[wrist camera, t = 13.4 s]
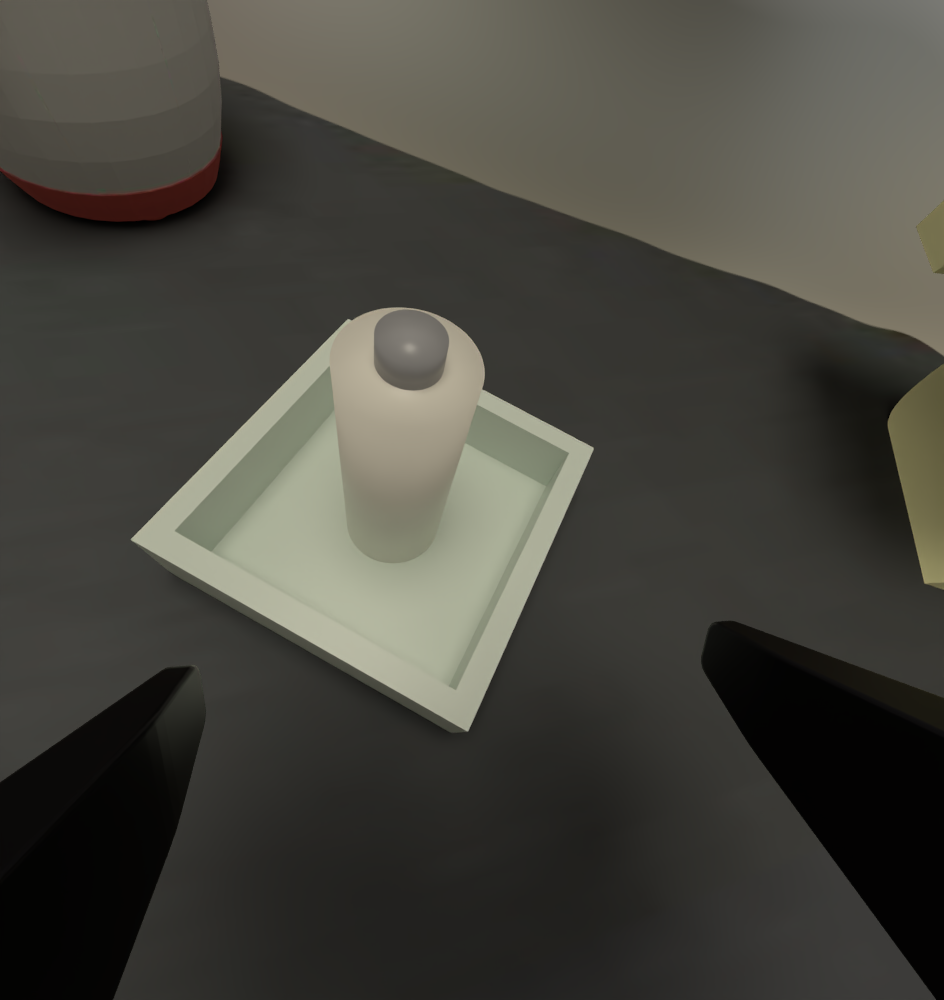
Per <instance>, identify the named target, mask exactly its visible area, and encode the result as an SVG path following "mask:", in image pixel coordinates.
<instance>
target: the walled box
mask: <svg viewBox="0 0 944 1000" xmlns="http://www.w3.org/2000/svg"><path fill="white" fill-rule="evenodd" d="M349 322H351V320H349V319H348V320H347V321H346V322H345V323H344V324H343V325H342V326H341V327H340V328H339V329H338V330H337V331H336V332H335V333H334V334H333V335H332V336H331V337H330V338H329V339H328V340H327V341H326V342H325V343H324V344H323V345H322V346H321V347H320V348H319V349H318V350H317V351H316V352H315V353H314V354H313V355H312V356H311V357H310V358H309V359H308V360H307V361H306V362H305V363H304V364H303V365H302V366H301V367H300V368H299V369H298V370H297V371H296V372H295V373H294V374H293V375H292V376H291V377H290V378H289V379H288V380H287V381H286V382H285V383H284V385H283V386H282V387H281V388H280V389H279V390H278V391H277V392H276V393H275V394H274V395H273V396H272V397H271V398H270V399H269V400H268V401H267V402H266V403H265V404H264V405H263V406H262V407H261V408H260V409H259V410H258V411H257V412H256V413H255V414H254V415H253V416H252V417H251V418H250V419H249V420H248V421H247V422H246V423H245V424H244V425H243V426H242V427H241V428H240V429H239V430H238V431H237V432H236V433H235V434H234V435H233V436H232V437H231V438H230V439H229V440H228V441H227V442H226V443H225V444H224V445H223V446H222V447H221V448H220V449H219V450H218V451H217V453H216V454H215V455H214V456H213V457H212V458H211V459H210V460H209V461H208V462H207V463H206V464H205V465H204V466H203V467H202V468H201V469H200V470H199V471H198V472H197V473H196V474H195V475H194V476H193V477H192V478H191V479H190V480H189V481H188V482H187V483H186V484H185V485H184V486H183V487H182V488H181V489H180V490H179V491H178V492H177V493H176V494H175V495H174V496H173V497H172V498H171V499H170V500H169V501H168V502H167V503H166V504H165V505H164V506H163V507H162V508H161V509H160V510H159V511H158V512H157V513H156V514H155V515H154V516H153V517H152V518H151V519H150V521H149V522H148V523H147V524H146V525H145V526H144V527H143V528H142V529H141V530H140V531H139V532H138V533H137V534H136V535H135V536H134V537H133V538H132V539H131V540H132V541H133V542H134V543H135V544H137V545H138V546H139V547H140V548H141V549H143V550H144V551H145V552H146V553H147V554H149V555H150V556H151V557H152V558H154V559H155V560H156V561H157V562H158V563H160V564H161V565H162V566H163V567H164V568H166V569H167V570H168V571H169V572H171V573H172V574H174V575H175V576H177V577H179V578H181V579H182V580H184V581H186V582H188V583H189V584H191V585H193V586H195V587H196V588H198V589H200V590H202V591H203V592H205V593H207V594H209V595H210V596H212V597H214V598H216V599H217V600H219V601H221V602H223V603H224V604H226V605H228V606H230V607H231V608H233V609H235V610H237V611H238V612H240V613H242V614H244V615H245V616H247V617H249V618H251V619H252V620H254V621H256V622H258V623H259V624H261V625H263V626H265V627H266V628H268V629H270V630H272V631H273V632H275V633H277V634H279V635H280V636H282V637H284V638H286V639H287V640H289V641H291V642H293V643H294V644H296V645H298V646H300V647H301V648H303V649H305V650H307V651H308V652H310V653H312V654H314V655H315V656H317V657H319V658H321V659H322V660H324V661H326V662H328V663H329V664H331V665H333V666H335V667H336V668H338V669H340V670H342V671H343V672H345V673H347V674H349V675H350V676H352V677H354V678H356V679H357V680H359V681H361V682H363V683H364V684H366V685H368V686H370V687H371V688H373V689H375V690H377V691H378V692H380V693H382V694H384V695H385V696H387V697H389V698H391V699H392V700H394V701H396V702H398V703H399V704H401V705H403V706H405V707H406V708H408V709H410V710H412V711H413V712H415V713H417V714H419V715H420V716H422V717H424V718H426V719H427V720H429V721H431V722H433V723H434V724H436V725H438V726H440V727H441V728H443V729H445V730H447V731H448V732H450V733H459V732H468V731H469V728H470V726H471V724H472V722H473V719H474V717H475V715H476V713H477V710H478V708H479V706H480V704H481V701H482V699H483V697H484V695H485V692H486V690H487V688H488V686H489V683H490V681H491V679H492V677H493V674H494V672H495V670H496V668H497V665H498V663H499V661H500V659H501V656H502V654H503V652H504V650H505V647H506V645H507V643H508V641H509V638H510V636H511V634H512V632H513V629H514V627H515V625H516V623H517V620H518V618H519V616H520V614H521V611H522V609H523V607H524V605H525V602H526V600H527V598H528V596H529V593H530V591H531V589H532V587H533V584H534V582H535V580H536V578H537V575H538V573H539V571H540V569H541V566H542V564H543V562H544V560H545V557H546V555H547V553H548V551H549V548H550V546H551V544H552V542H553V539H554V537H555V535H556V533H557V530H558V528H559V526H560V524H561V521H562V519H563V517H564V515H565V512H566V510H567V508H568V506H569V503H570V501H571V499H572V497H573V494H574V492H575V490H576V488H577V485H578V483H579V481H580V479H581V476H582V474H583V472H584V470H585V467H586V465H587V463H588V461H589V458H590V456H591V454H592V452H593V449H594V448H593V447H591V446H589V445H587V444H585V443H583V442H581V441H579V440H578V439H576V438H574V437H572V436H570V435H568V434H566V433H564V432H562V431H560V430H559V429H557V428H555V427H553V426H551V425H549V424H547V423H545V422H543V421H541V420H539V419H538V418H536V417H534V416H532V415H530V414H528V413H526V412H524V411H522V410H520V409H518V408H517V407H515V406H513V405H511V404H509V403H507V402H505V401H503V400H501V399H499V398H498V397H496V396H494V395H492V394H490V393H488V392H486V391H484V390H481V394H480V397H479V400H478V403H477V406H476V409H475V413H474V416H473V419H472V422H471V425H470V428H469V432H468V435H467V438H466V441H465V444H464V447H463V451H462V454H461V457H460V460H459V463H458V466H457V470H456V473H455V476H454V479H453V482H452V485H451V488H450V492H449V495H448V498H447V501H446V504H445V507H444V511H443V514H442V517H441V520H440V523H439V526H438V530H437V533H436V536H435V538H434V540H433V542H432V543H431V545H430V546H429V547H428V549H427V550H426V551H424V552H423V553H422V554H421V555H419V556H418V557H416V558H414V559H412V560H409V561H406V562H401V563H385V562H380V561H377V560H374V559H372V558H370V557H368V556H367V555H365V554H364V553H362V552H361V551H360V550H359V549H358V548H357V547H356V546H355V544H354V543H353V541H352V539H351V537H350V535H349V532H348V527H347V519H346V510H345V500H344V491H343V482H342V473H341V464H340V455H339V446H338V437H337V427H336V418H335V409H334V400H333V391H332V382H331V373H330V351H331V347H332V344H333V342H334V340H335V338H336V336H337V335H338V333H339V332H340V331H341V330H342V329H343V327H345V326H346V325H347V324H348V323H349Z"/></svg>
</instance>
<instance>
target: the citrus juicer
mask: <svg viewBox="0 0 944 1000" xmlns="http://www.w3.org/2000/svg"><path fill="white" fill-rule="evenodd" d="M221 106H222V99H221V86H220V74H219V61H218V55H217V50H216V44H215V39H214V33H213V27H212V22H211V16H210V11H209V7H208V2H207V0H0V171H1V172H2V173H3V174H4V175H5V176H6V177H8V178H9V179H10V180H11V181H13V182H14V183H15V184H16V185H18V186H19V187H20V188H21V189H23V190H24V191H25V192H26V193H28V194H29V195H30V196H32V197H33V198H34V199H36V200H37V201H38V202H40V203H42V204H44V205H46V206H48V207H50V208H52V209H54V210H57V211H60V212H63V213H66V214H69V215H72V216H76V217H81V218H87V219H92V220H100V221H115V222H122V221H141V220H148V221H154V220H160V219H163V218H164V217H166V216H167V215H170V214H173V213H177V212H179V211H181V210H183V209H186V208H188V207H190V206H192V205H194V204H195V203H196V202H198V201H199V200H201V199H202V198H204V197H205V196H206V194H207V193H208V192H209V191H210V190H211V189H212V188H213V186H214V184H215V182H216V179H217V175H218V169H219V163H220V155H221V146H222V138H223V136H222V132H221Z"/></svg>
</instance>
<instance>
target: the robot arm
mask: <svg viewBox="0 0 944 1000" xmlns="http://www.w3.org/2000/svg"><path fill="white" fill-rule="evenodd" d="M701 664H702V668H703V671H704V672H705V674H706V676H707V677H708V679H709V681H710V682H711V684H712V686H713V687H714V689H715V690H716V692H717V694H718V695H719V697H720V699H721V700H722V702H723V703H724V705H725V707H726V708H727V710H728V712H729V713H730V715H731V716H732V718H733V720H734V721H735V723H736V725H737V726H738V728H739V729H740V731H741V733H742V734H743V736H744V737H745V739H746V740H747V742H748V743H749V745H750V746H751V748H752V749H753V751H754V752H755V753H756V755H757V756H758V758H759V759H760V760H761V762H762V763H763V765H764V766H765V767H766V769H767V770H768V771H769V773H770V774H771V775H772V777H773V778H774V779H775V781H776V782H777V784H778V785H779V786H780V788H781V789H782V790H783V792H784V793H785V794H786V796H787V797H788V799H789V800H790V801H791V803H792V804H793V805H794V807H795V808H796V809H797V811H798V812H799V814H800V815H801V816H802V818H803V819H804V820H805V822H806V823H807V824H808V826H809V827H810V828H811V830H812V831H813V833H814V834H815V835H816V837H817V838H818V839H819V841H820V842H821V843H822V845H823V846H824V848H825V849H826V850H827V852H828V853H829V854H830V856H831V857H832V858H833V860H834V861H835V863H836V864H837V865H838V867H839V868H840V869H841V871H842V872H843V873H844V875H845V876H846V877H847V879H848V880H849V882H850V883H851V884H852V886H853V887H854V888H855V890H856V891H857V892H858V894H859V895H860V897H861V898H862V899H863V901H864V902H865V903H866V905H867V906H868V907H869V909H870V910H871V912H872V913H873V914H874V916H875V917H876V918H877V920H878V921H879V922H880V924H881V925H882V926H883V928H884V929H885V931H886V932H887V933H888V935H889V936H890V937H891V939H892V940H893V941H894V943H895V944H896V946H897V947H898V948H899V950H900V951H901V952H902V954H903V955H904V956H905V958H906V959H907V960H908V962H909V963H910V965H911V966H912V967H913V969H914V970H915V971H916V973H917V974H918V975H919V977H920V978H921V980H922V981H923V982H924V984H925V985H926V986H927V988H928V989H929V990H930V992H931V993H932V995H933V996H934V997H935V999H936V1000H944V698H942V697H940V696H937V695H934V694H931V693H929V692H926V691H923V690H921V689H918V688H915V687H912V686H910V685H907V684H904V683H902V682H899V681H896V680H893V679H891V678H888V677H885V676H882V675H880V674H877V673H874V672H872V671H869V670H866V669H863V668H861V667H858V666H855V665H853V664H850V663H847V662H844V661H842V660H839V659H836V658H833V657H831V656H828V655H825V654H823V653H820V652H817V651H814V650H812V649H809V648H806V647H804V646H801V645H798V644H795V643H793V642H790V641H787V640H784V639H782V638H779V637H776V636H774V635H771V634H768V633H765V632H763V631H760V630H757V629H755V628H752V627H749V626H746V625H744V624H741V623H738V622H735V621H721V622H714V623H712V624H711V625H710V626H709V628H708V631H707V635H706V640H705V644H704V648H703V652H702V656H701ZM205 716H206V709H205V702H204V695H203V688H202V682H201V675H200V671H199V669H198V667H196V666H194V665H187V666H174V667H167V668H165V669H163V670H162V671H160V672H159V673H157V674H156V675H154V676H153V677H152V678H150V679H149V680H147V681H146V682H144V683H143V684H141V685H140V686H139V687H137V688H136V689H134V690H133V691H131V692H130V693H128V694H127V695H126V696H124V697H123V698H121V699H120V700H118V701H117V702H115V703H114V704H113V705H111V706H110V707H108V708H107V709H105V710H104V711H102V712H101V713H100V714H98V715H97V716H95V717H94V718H92V719H91V720H89V721H88V722H87V723H85V724H84V725H82V726H81V727H79V728H78V729H76V730H75V731H74V732H72V733H71V734H69V735H68V736H66V737H65V738H63V739H62V740H61V741H59V742H58V743H56V744H55V745H53V746H52V747H50V748H49V749H48V750H46V751H45V752H43V753H42V754H40V755H39V756H37V757H36V758H35V759H33V760H32V761H30V762H29V763H27V764H26V765H24V766H23V767H22V768H20V769H19V770H17V771H16V772H14V773H13V774H11V775H10V776H9V777H7V778H6V779H4V780H3V781H1V782H0V1000H113V998H114V996H115V993H116V990H117V988H118V985H119V983H120V980H121V977H122V975H123V972H124V969H125V967H126V964H127V961H128V959H129V956H130V953H131V951H132V948H133V945H134V943H135V940H136V937H137V935H138V932H139V929H140V927H141V924H142V921H143V919H144V916H145V913H146V911H147V908H148V906H149V903H150V900H151V898H152V895H153V892H154V890H155V887H156V884H157V882H158V879H159V876H160V874H161V871H162V868H163V866H164V863H165V860H166V858H167V855H168V852H169V850H170V847H171V844H172V841H173V838H174V835H175V833H176V830H177V826H178V823H179V819H180V816H181V812H182V808H183V804H184V801H185V797H186V793H187V789H188V785H189V781H190V778H191V774H192V770H193V766H194V762H195V759H196V755H197V751H198V747H199V743H200V739H201V736H202V732H203V728H204V724H205Z"/></svg>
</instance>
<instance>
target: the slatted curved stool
mask: <svg viewBox="0 0 944 1000" xmlns="http://www.w3.org/2000/svg"><path fill="white" fill-rule="evenodd" d="M916 228H917V231H918V233H919V236H920V239H921V241H922V244H923V247H924V249H925V252H926V254H927V257H928V260H929V263H930V265H931V268H932V271H933V273H941V274H944V201H943V202H942V203H941V204H940V205H938V206H937V208H935V209H934V210H933V211H932V212H931V213H930V214H929V215H928V216H927V217H926V218H925V219H924V220H923V221H921V222H920V223H919V224H918V225H917V226H916ZM888 430H889V435H890V439H891V443H892V447H893V452H894V456H895V460H896V464H897V469H898V473H899V477H900V481H901V486H902V490H903V494H904V498H905V503H906V507H907V511H908V515H909V520H910V524H911V528H912V532H913V537H914V541H915V545H916V549H917V554H918V558H919V562H920V566H921V571H922V575H923V579H924V583H925V584H928V585H931V586H934V587H937V588H940V589H943V590H944V364H943V365H941V366H940V367H939V368H937V369H936V370H934V371H933V372H932V373H931V374H929V375H928V376H927V377H925V378H924V379H923V380H922V381H920V382H919V383H918V384H917V385H916V386H914V387H913V388H912V389H911V390H910V391H909V392H908V393H907V394H906V395H904V397H903V398H902V399H901V400H900V401H899V402H898V403H897V404H896V406H895V407H894V409H893V410H892V412H891V414H890V416H889V419H888Z"/></svg>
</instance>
